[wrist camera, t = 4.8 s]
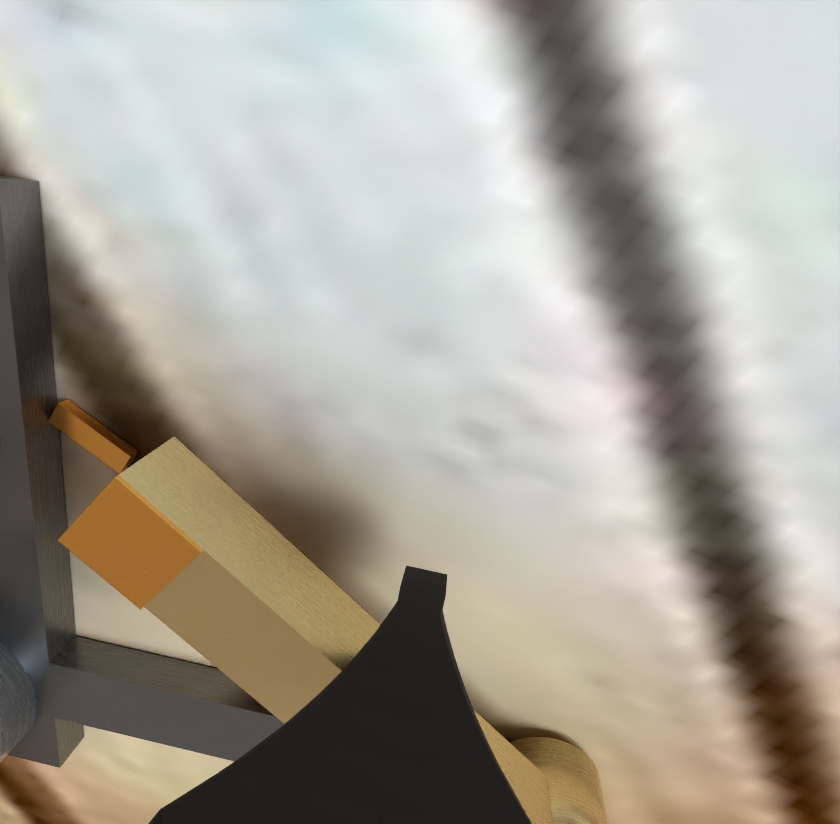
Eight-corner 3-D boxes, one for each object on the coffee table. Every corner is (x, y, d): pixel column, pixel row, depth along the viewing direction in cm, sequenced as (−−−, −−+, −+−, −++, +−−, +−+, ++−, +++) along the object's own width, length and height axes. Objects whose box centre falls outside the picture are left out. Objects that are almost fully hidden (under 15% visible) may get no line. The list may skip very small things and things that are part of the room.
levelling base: (463, 828, 16) (449, 1132, 11) (-96, 693, 17) (-360, 908, 12) (619, 284, 10) (752, 354, 5) (-227, 134, 12) (-847, 62, 6)
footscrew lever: (622, 788, 14) (656, 932, 12) (535, 831, 15) (545, 973, 13) (213, 404, 12) (126, 462, 9) (140, 482, 13) (40, 558, 10)
